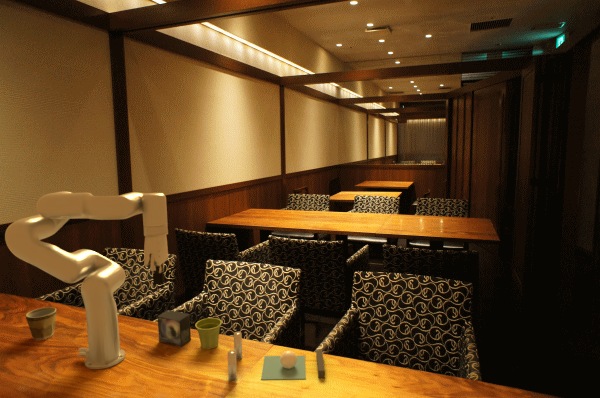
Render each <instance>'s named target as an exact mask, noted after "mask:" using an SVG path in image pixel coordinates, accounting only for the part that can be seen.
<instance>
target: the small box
mask: <svg viewBox="0 0 600 398" xmlns="http://www.w3.org/2000/svg"><path fill="white" fill-rule="evenodd" d="M157 327H158V328H157V329H158V331H157V332H158V342H159V343H162V344H167V345H172V346H176V347H179V346H180V348H182V347H183V346H185V345H186V344H187V343H188V341H189V342H190V341H191V340H192V338H191V337H192V336H191V316H190V313H185V312H180V311H176V310H175V311H174V310H170V309H168V310H166V311H164V312H162V313H161V314H159V315H158V316H157ZM181 346H182V347H181Z"/></svg>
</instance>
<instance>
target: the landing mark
mask: <svg viewBox="0 0 600 398" xmlns="http://www.w3.org/2000/svg"><path fill="white" fill-rule="evenodd" d="M280 357H281V355H265V356H264V358H263V363H262V370H261V371H262V372H261V376H260V377H261V379H260V381H271V380H272V381H274V380H275V381H276V380H281V381H282V380H283V379H288V380H307V373H306V355H296V357H297V363H296V365H295V366H294V367H293V368H291V369H286V368H284V367H283V366H282V365H281V363H280ZM283 381H284V380H283Z"/></svg>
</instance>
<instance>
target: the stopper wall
mask: <svg viewBox="0 0 600 398" xmlns="http://www.w3.org/2000/svg"><path fill="white" fill-rule="evenodd" d="M315 353H316V354H315V355H316V358H315V359H316V365H317V376H318V379H325V378H326V375H325V373H326V369H325V361H324V353H323V350H322V349H316V352H315Z"/></svg>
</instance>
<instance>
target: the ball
mask: <svg viewBox="0 0 600 398" xmlns="http://www.w3.org/2000/svg"><path fill="white" fill-rule="evenodd" d="M280 356H281V357H280V363H281V365H282V366H283V367H284V368H286V369H291V368H293V367H294V366H295V365H296V363H297V357H296V356H297V354H296V353H295V352H294V351H293V350H285V351H283V352H282V353H281V355H280Z"/></svg>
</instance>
